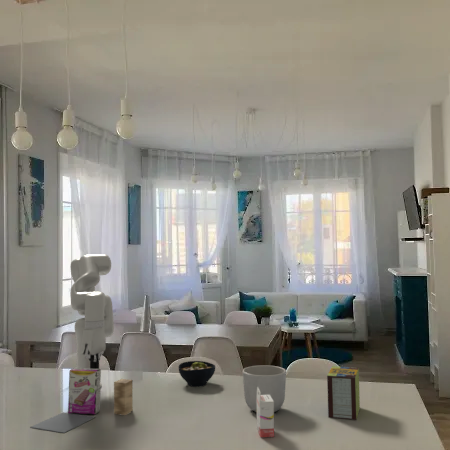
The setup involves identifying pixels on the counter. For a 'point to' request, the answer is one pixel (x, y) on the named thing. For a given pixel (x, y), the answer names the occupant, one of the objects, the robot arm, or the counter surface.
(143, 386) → the counter surface
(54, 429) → the mat
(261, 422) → the ink cartridge box
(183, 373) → the bowl
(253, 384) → the planter
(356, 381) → the protein box
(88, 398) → the candy bar box
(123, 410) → the oak block
